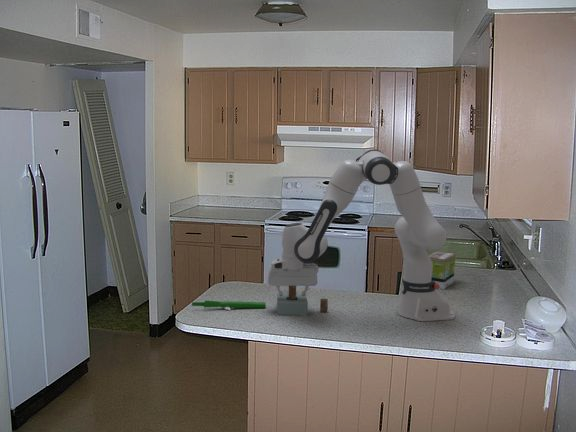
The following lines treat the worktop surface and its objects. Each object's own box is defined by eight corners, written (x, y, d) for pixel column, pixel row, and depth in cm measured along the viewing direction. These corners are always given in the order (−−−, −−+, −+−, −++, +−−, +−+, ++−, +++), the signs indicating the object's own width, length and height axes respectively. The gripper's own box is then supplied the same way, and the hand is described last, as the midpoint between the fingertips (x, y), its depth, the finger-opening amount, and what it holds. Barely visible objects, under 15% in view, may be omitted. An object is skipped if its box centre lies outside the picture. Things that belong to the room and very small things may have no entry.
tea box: (444, 290, 281) (446, 259, 278) (423, 286, 286) (425, 256, 283) (454, 282, 293) (455, 253, 291) (433, 279, 298) (435, 250, 296)
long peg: (295, 309, 249) (296, 283, 247) (295, 311, 246) (296, 285, 244) (288, 309, 249) (288, 283, 247) (288, 311, 246) (288, 285, 244)
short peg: (327, 310, 249) (327, 298, 248) (327, 312, 246) (328, 300, 245) (319, 310, 248) (320, 298, 248) (320, 312, 245) (320, 300, 245)
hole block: (305, 305, 254) (305, 294, 253) (307, 315, 242) (307, 303, 241) (277, 305, 253) (277, 294, 252) (277, 315, 241) (277, 303, 241)
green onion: (264, 308, 253) (191, 307, 248) (264, 300, 252) (192, 299, 247) (265, 312, 248) (191, 310, 243) (266, 304, 247) (192, 302, 243)
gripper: (317, 261, 248) (317, 293, 250) (267, 260, 247) (267, 293, 249) (319, 264, 242) (318, 298, 244) (267, 264, 241) (267, 298, 243)
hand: (292, 295), depth 247 cm, fingers open, 8 cm apart
